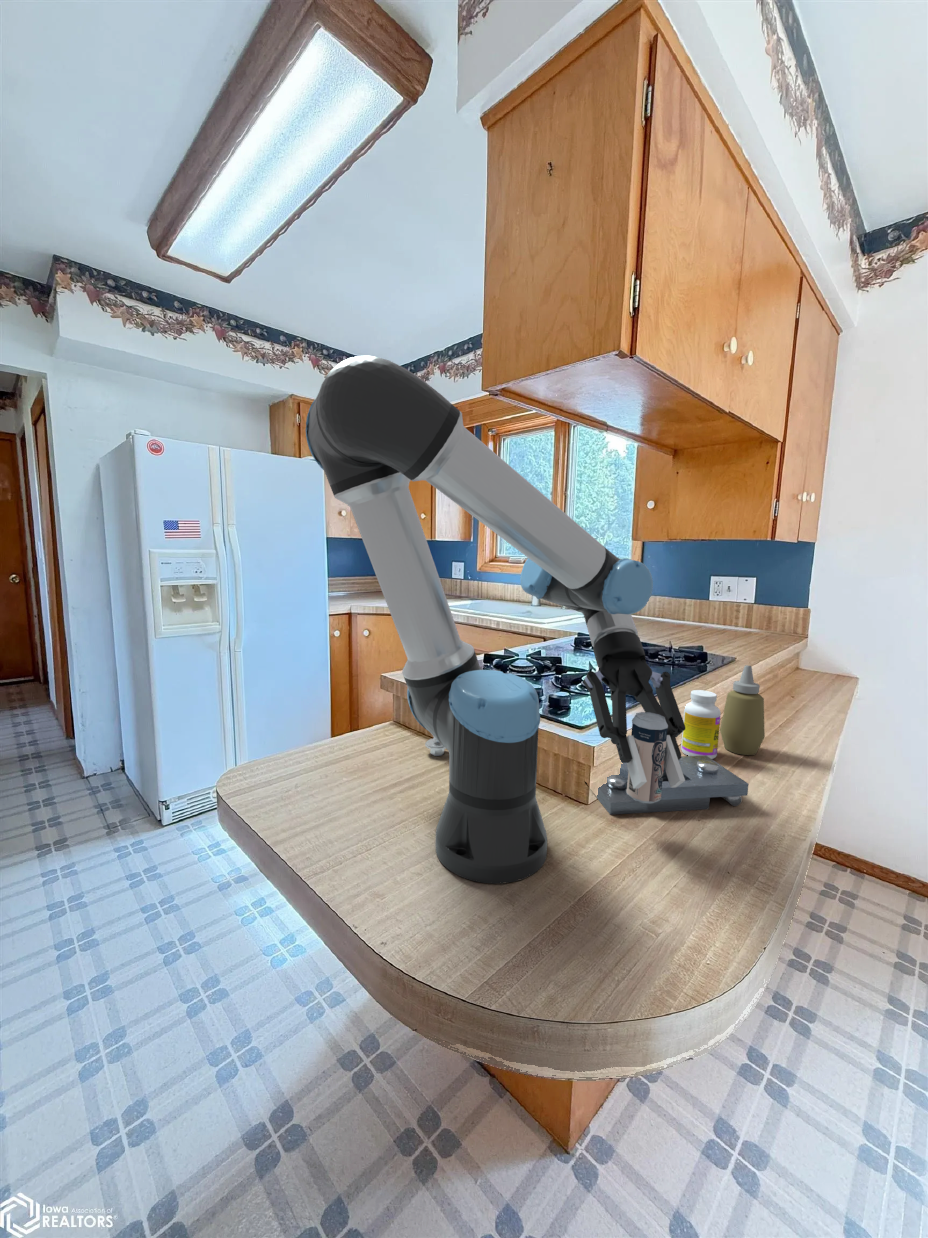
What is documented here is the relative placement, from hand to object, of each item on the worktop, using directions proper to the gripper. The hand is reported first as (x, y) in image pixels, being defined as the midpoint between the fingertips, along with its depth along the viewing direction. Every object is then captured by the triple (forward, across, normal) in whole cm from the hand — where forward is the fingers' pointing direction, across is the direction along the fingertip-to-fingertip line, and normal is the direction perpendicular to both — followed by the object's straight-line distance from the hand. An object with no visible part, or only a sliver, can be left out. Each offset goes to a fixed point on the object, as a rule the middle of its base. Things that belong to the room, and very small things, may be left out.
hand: (659, 784), depth 65 cm
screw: (-17, +27, -32) cm, 45 cm away
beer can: (0, 0, -6) cm, 6 cm away
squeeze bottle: (-16, -36, -28) cm, 48 cm away
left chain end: (-4, -6, -17) cm, 18 cm away
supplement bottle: (-15, -26, -27) cm, 40 cm away
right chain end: (-4, -12, -17) cm, 21 cm away
